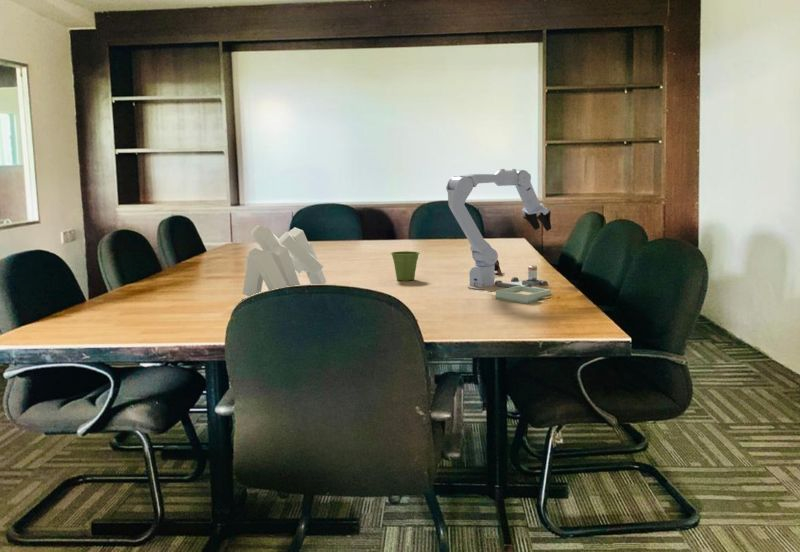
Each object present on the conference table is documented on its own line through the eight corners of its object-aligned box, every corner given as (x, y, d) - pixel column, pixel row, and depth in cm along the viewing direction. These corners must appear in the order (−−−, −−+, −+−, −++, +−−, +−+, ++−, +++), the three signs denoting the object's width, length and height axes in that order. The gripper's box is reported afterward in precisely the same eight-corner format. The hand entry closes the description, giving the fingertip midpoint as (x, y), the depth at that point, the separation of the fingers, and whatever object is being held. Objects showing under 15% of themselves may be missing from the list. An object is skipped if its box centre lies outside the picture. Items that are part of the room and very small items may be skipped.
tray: (527, 303, 250) (527, 295, 250) (495, 299, 260) (495, 290, 259) (550, 298, 259) (551, 289, 259) (519, 293, 269) (519, 285, 269)
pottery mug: (498, 277, 311) (488, 260, 310) (481, 285, 317) (471, 269, 316) (508, 266, 321) (499, 250, 320) (491, 274, 326) (482, 258, 325)
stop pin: (533, 285, 277) (533, 267, 276) (526, 284, 280) (526, 266, 278) (538, 284, 279) (538, 266, 278) (531, 283, 282) (531, 265, 281)
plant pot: (424, 280, 303) (424, 253, 301) (397, 282, 298) (397, 255, 297) (413, 276, 314) (413, 250, 312) (387, 278, 309) (386, 252, 308)
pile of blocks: (280, 299, 297) (235, 224, 285) (345, 271, 288) (301, 193, 277) (255, 342, 265) (203, 260, 254) (328, 313, 257) (277, 227, 245)
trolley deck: (524, 293, 269) (524, 285, 268) (491, 289, 280) (491, 281, 279) (548, 288, 279) (548, 280, 279) (516, 284, 290) (516, 276, 289)
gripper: (548, 193, 279) (562, 224, 283) (526, 193, 292) (540, 223, 296) (534, 202, 277) (548, 234, 281) (513, 202, 290) (526, 232, 294)
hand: (543, 229), depth 288 cm, fingers open, 7 cm apart
